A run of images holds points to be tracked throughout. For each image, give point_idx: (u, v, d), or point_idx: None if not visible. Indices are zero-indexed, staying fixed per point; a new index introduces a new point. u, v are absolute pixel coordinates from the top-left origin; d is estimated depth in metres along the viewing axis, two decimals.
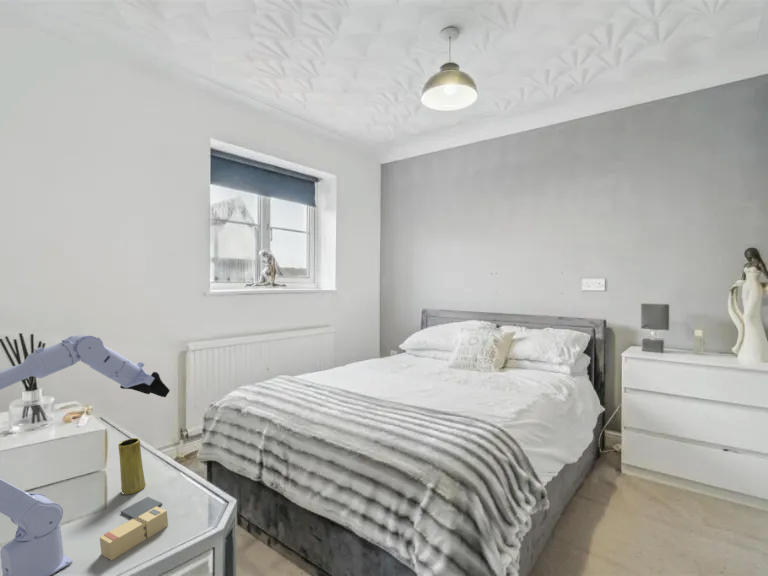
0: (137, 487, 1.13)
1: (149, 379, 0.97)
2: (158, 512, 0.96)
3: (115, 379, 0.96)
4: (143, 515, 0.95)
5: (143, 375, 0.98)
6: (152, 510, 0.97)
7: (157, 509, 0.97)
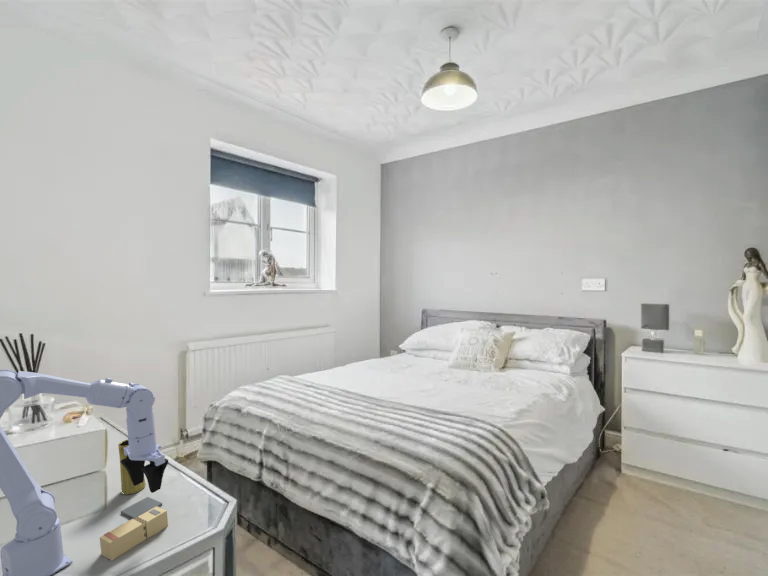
0: (137, 487, 1.13)
1: (161, 460, 0.94)
2: (158, 512, 0.96)
3: (133, 444, 0.94)
4: (143, 515, 0.95)
5: (157, 454, 0.95)
6: (152, 510, 0.97)
7: (157, 509, 0.97)
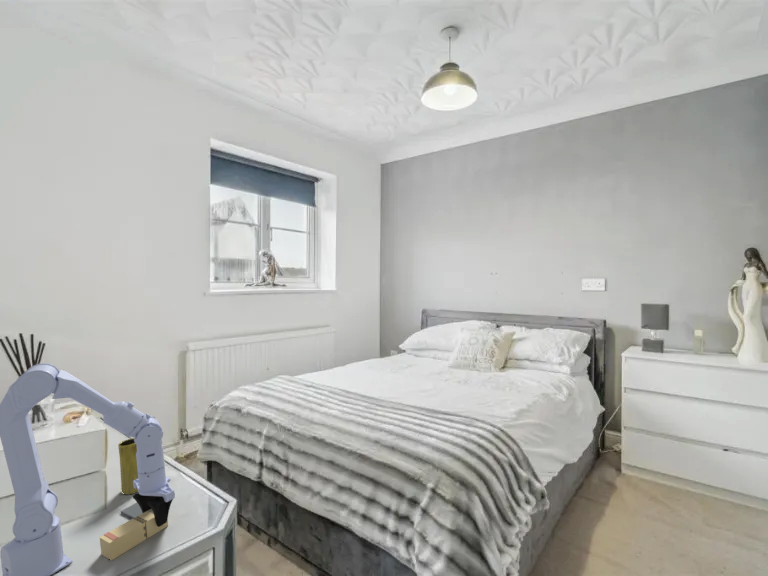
0: None
1: (170, 495, 0.92)
2: None
3: (142, 479, 0.93)
4: (143, 514, 0.95)
5: (166, 489, 0.94)
6: None
7: None
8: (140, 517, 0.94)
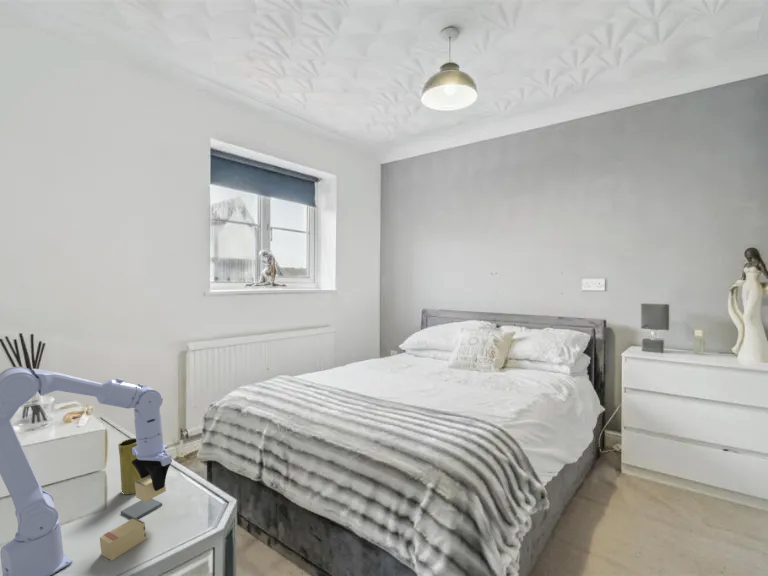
0: None
1: (167, 460, 0.96)
2: None
3: (140, 444, 0.96)
4: (141, 480, 0.98)
5: (164, 454, 0.97)
6: (150, 476, 1.00)
7: None
8: (138, 482, 0.97)
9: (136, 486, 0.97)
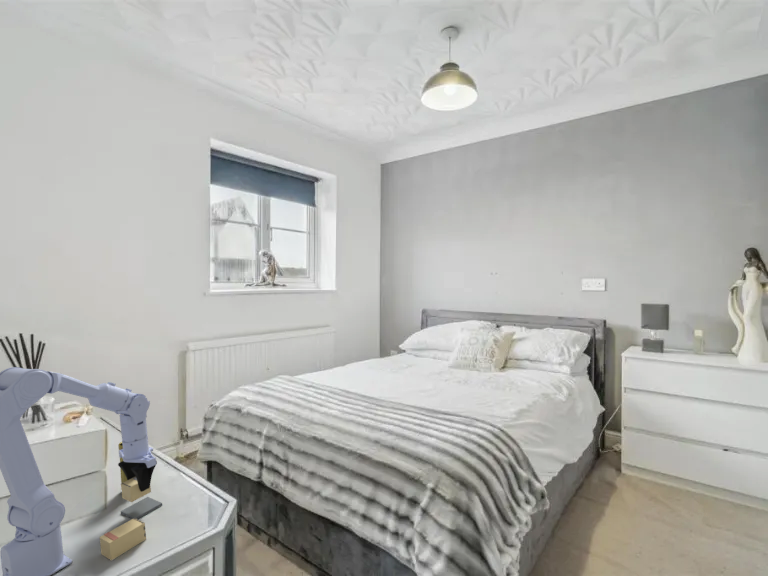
0: None
1: (152, 462, 1.00)
2: None
3: (126, 447, 1.01)
4: (127, 481, 1.03)
5: (149, 457, 1.02)
6: None
7: None
8: (124, 483, 1.02)
9: (122, 487, 1.02)
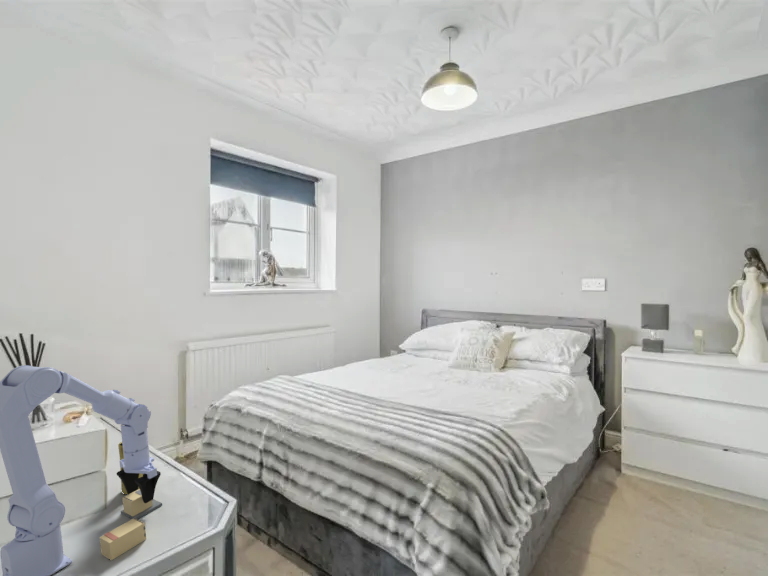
0: None
1: (153, 473, 1.00)
2: None
3: (127, 458, 1.01)
4: (129, 495, 1.03)
5: (150, 467, 1.02)
6: (137, 491, 1.05)
7: None
8: (126, 497, 1.02)
9: (124, 501, 1.02)
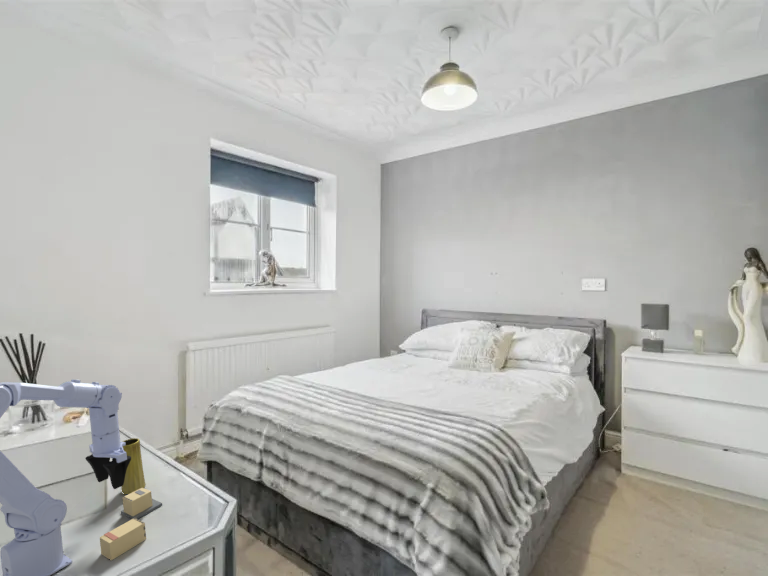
0: (137, 487, 1.13)
1: (122, 457, 0.95)
2: (143, 493, 1.04)
3: (96, 441, 0.96)
4: (129, 495, 1.03)
5: (119, 451, 0.97)
6: (137, 491, 1.05)
7: (142, 490, 1.05)
8: (126, 497, 1.02)
9: (124, 501, 1.02)
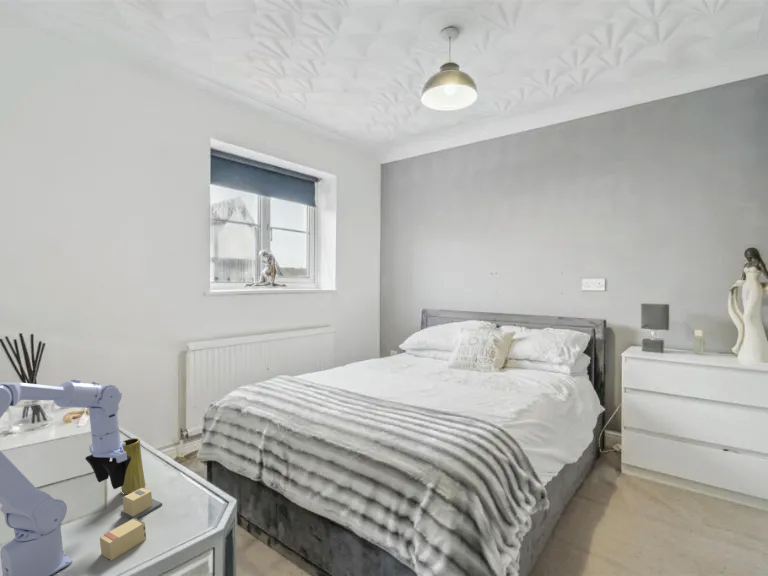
0: (137, 487, 1.13)
1: (122, 457, 0.95)
2: (143, 493, 1.04)
3: (96, 441, 0.96)
4: (129, 495, 1.03)
5: (119, 451, 0.97)
6: (137, 491, 1.05)
7: (142, 490, 1.05)
8: (126, 497, 1.02)
9: (124, 501, 1.02)
